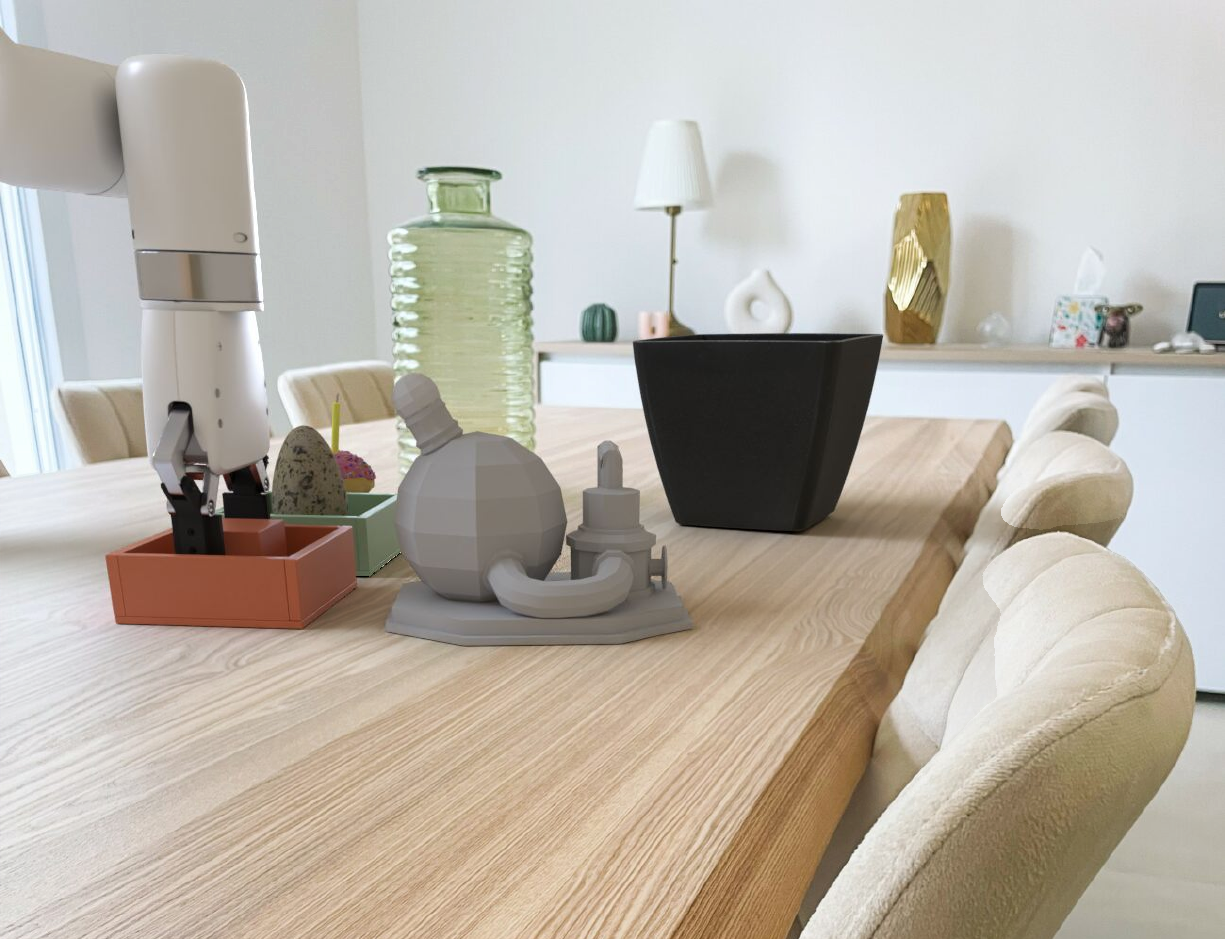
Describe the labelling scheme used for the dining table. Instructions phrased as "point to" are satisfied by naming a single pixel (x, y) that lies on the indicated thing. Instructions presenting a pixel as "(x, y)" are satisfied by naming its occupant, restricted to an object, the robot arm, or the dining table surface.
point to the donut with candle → (350, 461)
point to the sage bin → (359, 527)
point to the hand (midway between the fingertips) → (227, 560)
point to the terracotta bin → (233, 581)
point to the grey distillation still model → (518, 543)
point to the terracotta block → (254, 537)
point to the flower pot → (755, 423)
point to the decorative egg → (308, 477)
